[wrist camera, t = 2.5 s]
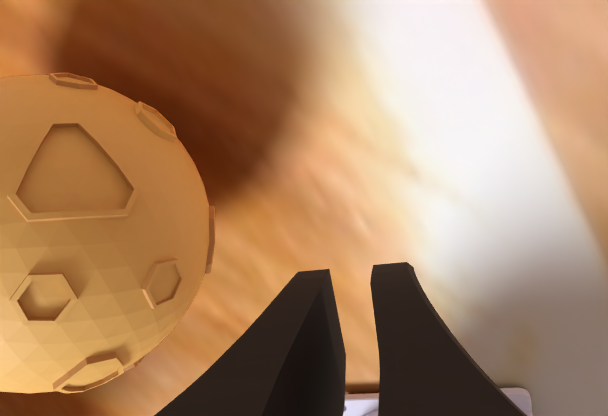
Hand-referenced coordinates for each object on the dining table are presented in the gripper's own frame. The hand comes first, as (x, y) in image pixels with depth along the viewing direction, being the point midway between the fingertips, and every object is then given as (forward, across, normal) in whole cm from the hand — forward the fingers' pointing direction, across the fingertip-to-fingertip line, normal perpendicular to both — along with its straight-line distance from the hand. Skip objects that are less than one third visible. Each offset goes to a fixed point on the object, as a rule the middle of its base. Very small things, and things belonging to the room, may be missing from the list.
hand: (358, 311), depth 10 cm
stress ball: (+11, +10, 0) cm, 15 cm away
